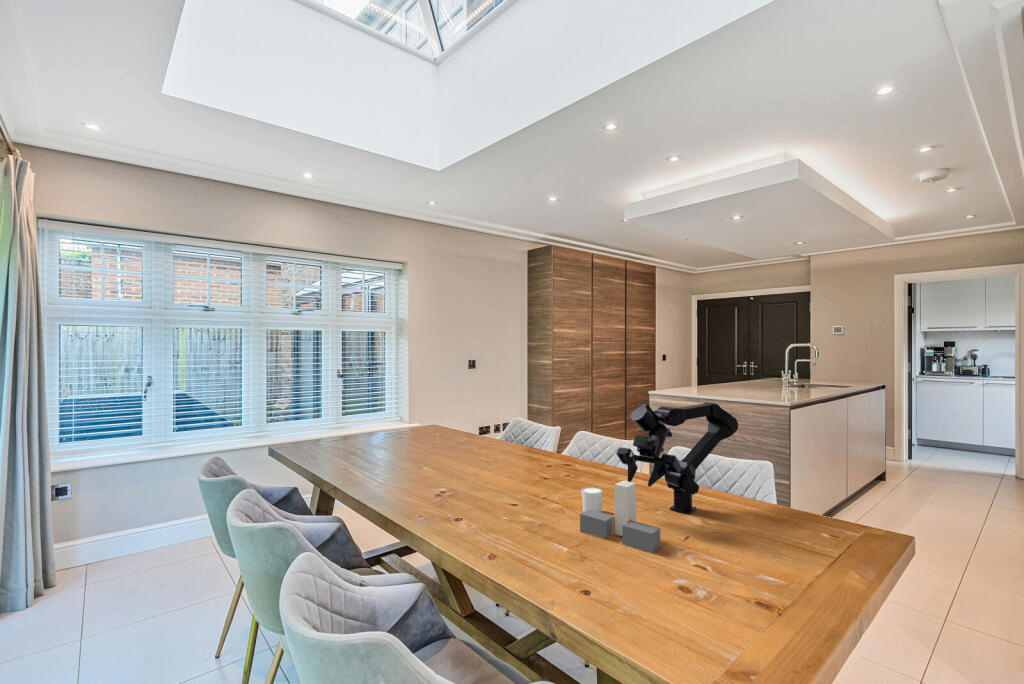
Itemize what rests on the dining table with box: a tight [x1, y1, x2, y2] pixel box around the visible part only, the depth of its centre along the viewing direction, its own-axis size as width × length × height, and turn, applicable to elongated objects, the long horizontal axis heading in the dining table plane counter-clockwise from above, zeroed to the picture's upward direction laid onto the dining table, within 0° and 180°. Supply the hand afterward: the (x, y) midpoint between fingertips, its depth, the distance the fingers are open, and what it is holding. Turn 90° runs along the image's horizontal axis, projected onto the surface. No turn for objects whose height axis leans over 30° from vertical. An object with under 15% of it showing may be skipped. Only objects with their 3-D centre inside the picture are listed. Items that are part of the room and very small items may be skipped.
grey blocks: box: [579, 510, 662, 554], centre depth 132 cm, size 5×22×5 cm, turn 48°
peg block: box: [614, 480, 637, 537], centre depth 135 cm, size 5×4×14 cm
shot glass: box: [581, 487, 604, 513], centre depth 154 cm, size 7×7×7 cm
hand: (638, 483), depth 141 cm, fingers open, 6 cm apart
